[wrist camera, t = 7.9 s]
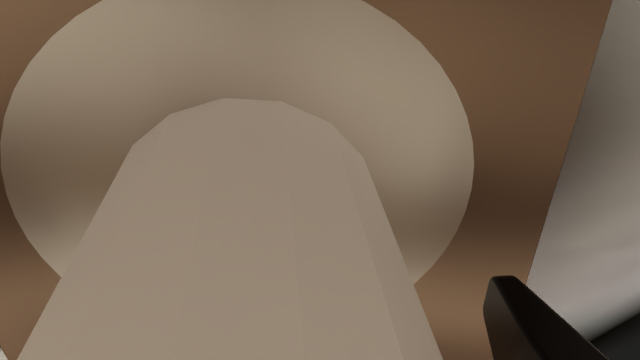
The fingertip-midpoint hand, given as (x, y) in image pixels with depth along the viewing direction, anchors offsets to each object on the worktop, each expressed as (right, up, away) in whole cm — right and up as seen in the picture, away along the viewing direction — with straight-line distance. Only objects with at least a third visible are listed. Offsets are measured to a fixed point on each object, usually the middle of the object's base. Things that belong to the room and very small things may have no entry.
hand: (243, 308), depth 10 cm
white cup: (0, +2, +3) cm, 3 cm away
